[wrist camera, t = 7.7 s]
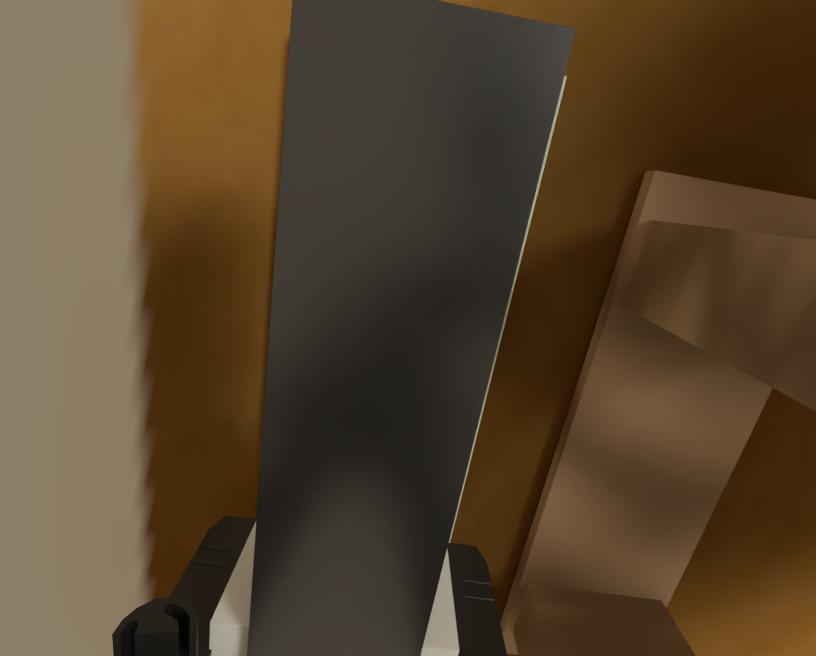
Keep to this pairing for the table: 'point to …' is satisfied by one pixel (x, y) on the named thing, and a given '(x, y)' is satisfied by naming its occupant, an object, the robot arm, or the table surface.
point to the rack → (665, 412)
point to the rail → (388, 304)
